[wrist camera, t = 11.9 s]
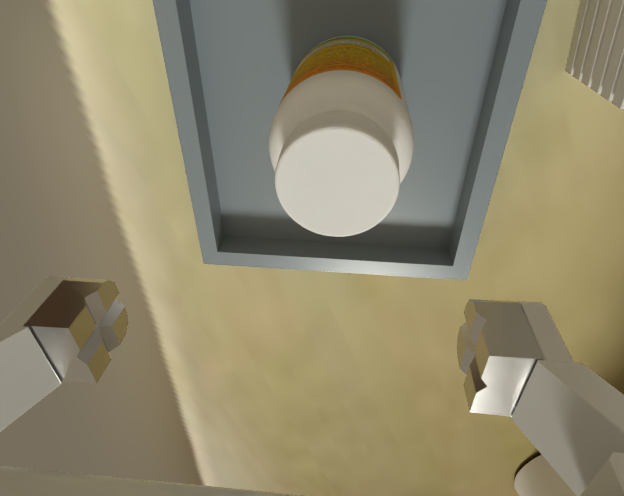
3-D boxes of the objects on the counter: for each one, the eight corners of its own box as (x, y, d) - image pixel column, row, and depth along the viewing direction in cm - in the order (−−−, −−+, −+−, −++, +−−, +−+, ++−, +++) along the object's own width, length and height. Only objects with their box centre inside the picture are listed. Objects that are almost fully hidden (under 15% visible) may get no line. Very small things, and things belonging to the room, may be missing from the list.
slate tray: (145, -178, 17) (115, -192, 15) (574, -187, 15) (605, -205, 13) (215, 240, 28) (203, 263, 26) (459, 254, 27) (466, 280, 25)
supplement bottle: (272, 68, 21) (217, 149, 13) (374, 10, 19) (382, 64, 11) (322, 160, 23) (302, 273, 16) (417, 117, 22) (447, 222, 14)
